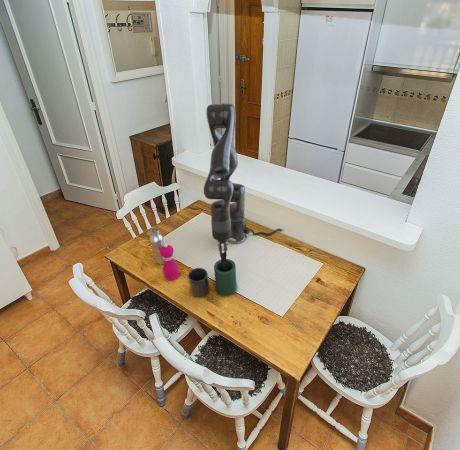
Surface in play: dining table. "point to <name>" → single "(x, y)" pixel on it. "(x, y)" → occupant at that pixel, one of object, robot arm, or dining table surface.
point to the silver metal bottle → (156, 245)
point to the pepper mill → (169, 262)
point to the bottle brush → (224, 266)
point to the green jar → (225, 278)
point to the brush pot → (198, 282)
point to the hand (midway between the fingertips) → (223, 258)
